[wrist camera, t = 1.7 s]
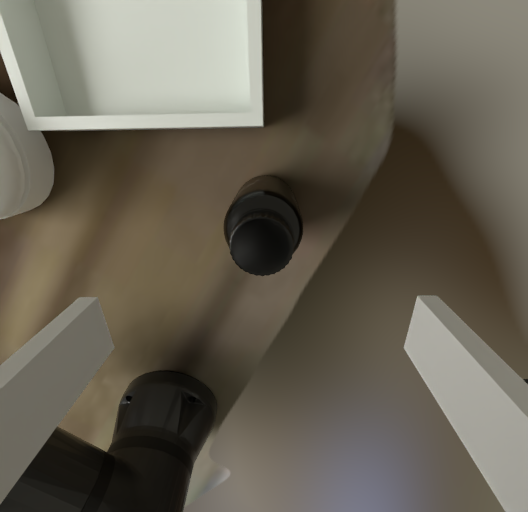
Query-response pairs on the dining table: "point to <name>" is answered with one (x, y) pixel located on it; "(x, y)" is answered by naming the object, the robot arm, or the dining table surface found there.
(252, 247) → the supplement bottle
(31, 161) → the honey pot
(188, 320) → the dining table surface
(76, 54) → the tote
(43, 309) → the dining table surface
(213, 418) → the robot arm
